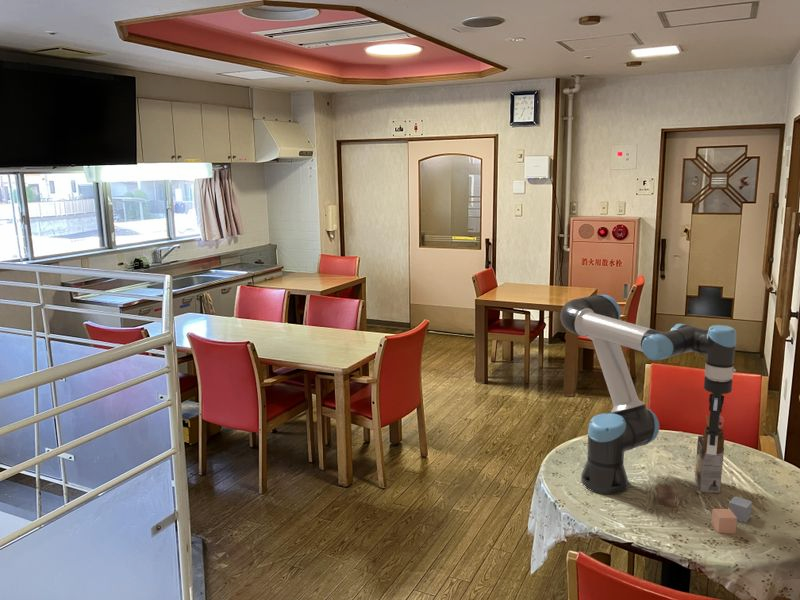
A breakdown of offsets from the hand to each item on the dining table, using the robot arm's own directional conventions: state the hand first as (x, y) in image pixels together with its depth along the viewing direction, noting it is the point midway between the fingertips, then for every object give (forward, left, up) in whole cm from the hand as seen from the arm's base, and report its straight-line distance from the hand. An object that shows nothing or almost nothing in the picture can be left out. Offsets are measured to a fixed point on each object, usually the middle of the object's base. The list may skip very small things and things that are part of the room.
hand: (712, 449), depth 200 cm
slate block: (+9, +1, -21) cm, 23 cm away
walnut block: (-12, 0, -21) cm, 24 cm away
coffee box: (-1, +17, -21) cm, 27 cm away
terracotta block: (+5, -8, -21) cm, 23 cm away
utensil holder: (0, 0, -1) cm, 1 cm away
